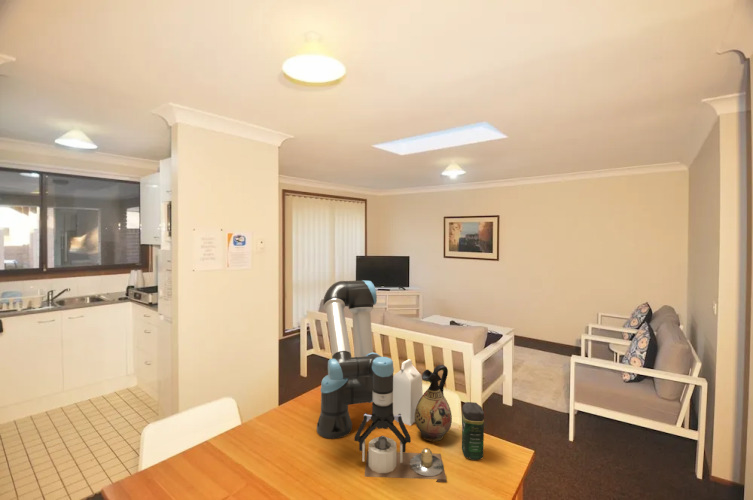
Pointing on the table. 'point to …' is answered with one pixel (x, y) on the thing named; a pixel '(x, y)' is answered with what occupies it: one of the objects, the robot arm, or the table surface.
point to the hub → (426, 464)
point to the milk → (406, 392)
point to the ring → (382, 456)
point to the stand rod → (382, 443)
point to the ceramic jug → (433, 407)
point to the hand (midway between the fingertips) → (382, 459)
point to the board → (403, 469)
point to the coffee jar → (472, 431)
